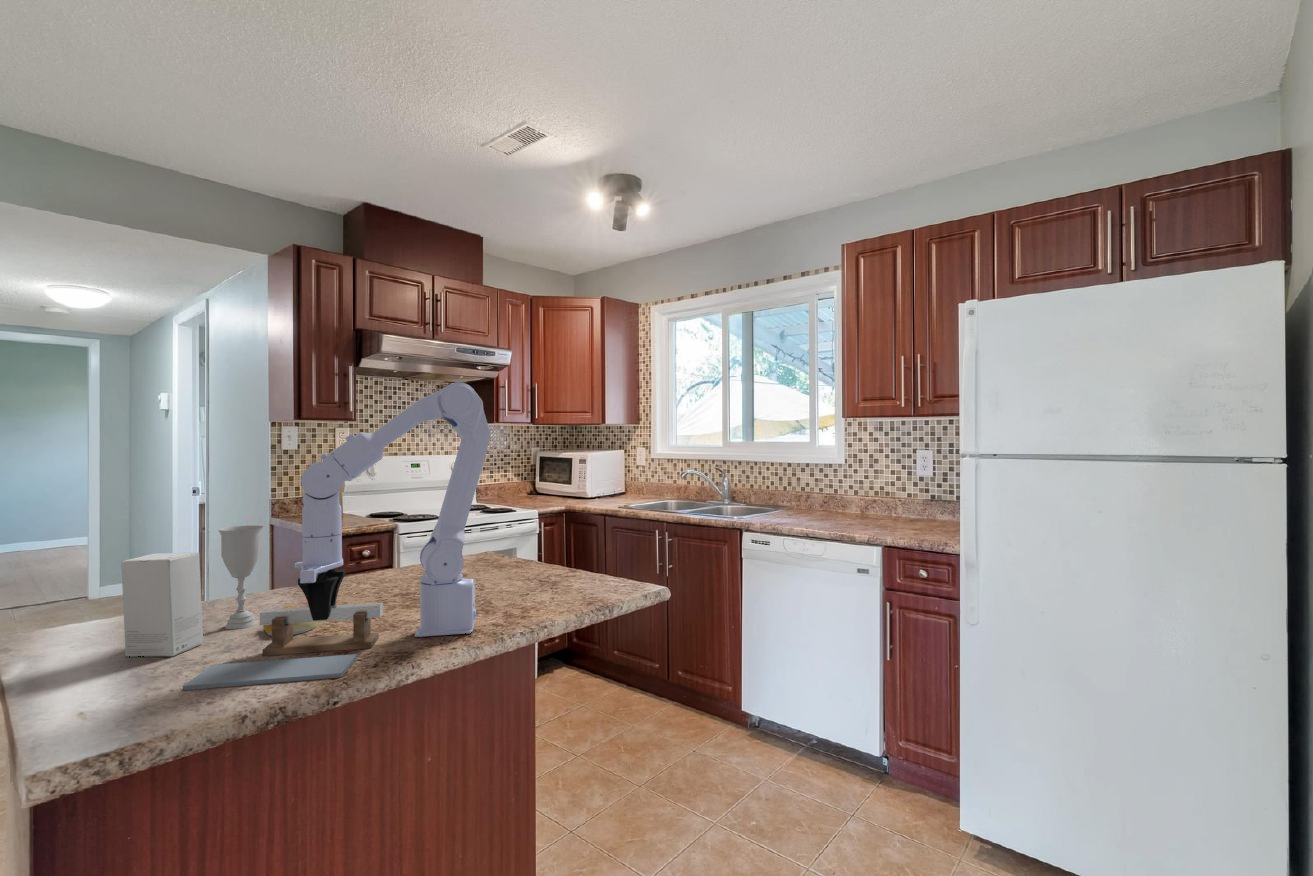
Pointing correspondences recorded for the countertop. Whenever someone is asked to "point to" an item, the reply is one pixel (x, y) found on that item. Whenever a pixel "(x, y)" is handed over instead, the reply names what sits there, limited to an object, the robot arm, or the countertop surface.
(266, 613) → the steel rail
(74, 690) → the countertop surface
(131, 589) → the skincare box
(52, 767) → the countertop surface
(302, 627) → the bread roll
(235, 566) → the chalice
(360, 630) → the cradle rack
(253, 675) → the slate mat
